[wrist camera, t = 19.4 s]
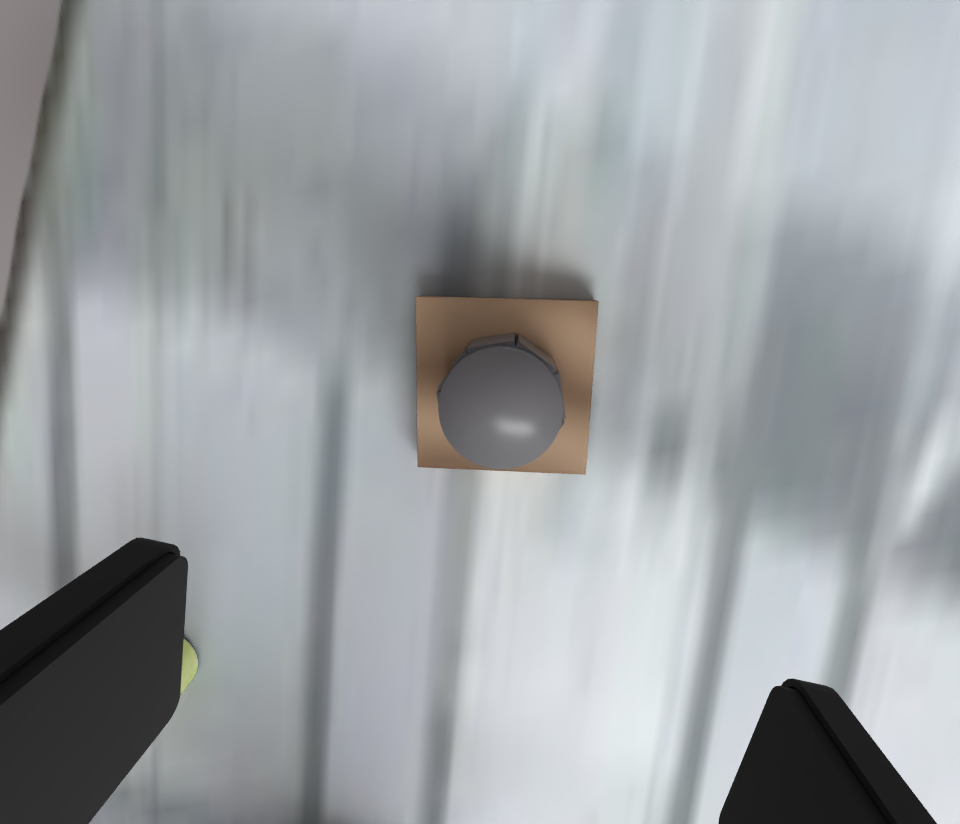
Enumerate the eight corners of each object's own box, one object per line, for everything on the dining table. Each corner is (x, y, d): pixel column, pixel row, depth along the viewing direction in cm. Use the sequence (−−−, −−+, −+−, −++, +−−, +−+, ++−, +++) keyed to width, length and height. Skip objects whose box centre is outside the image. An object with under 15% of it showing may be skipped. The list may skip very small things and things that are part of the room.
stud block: (582, 465, 33) (593, 499, 28) (421, 458, 33) (405, 490, 28) (594, 300, 30) (609, 305, 25) (420, 296, 31) (402, 300, 26)
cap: (428, 400, 31) (411, 423, 26) (490, 312, 29) (484, 319, 25) (515, 460, 31) (514, 494, 27) (580, 377, 30) (591, 396, 25)
